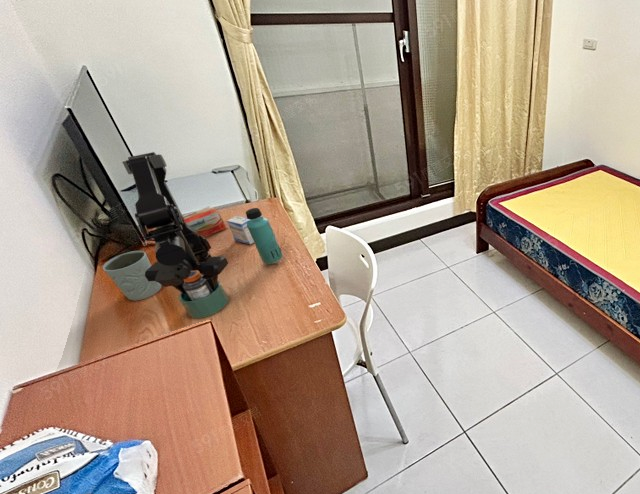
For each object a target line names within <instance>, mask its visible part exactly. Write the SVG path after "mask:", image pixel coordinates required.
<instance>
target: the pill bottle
mask: <svg viewBox="0 0 640 494" xmlns="http://www.w3.org/2000/svg"><path fill="white" fill-rule="evenodd" d="M202 277H203V274H202V273H201V274H200V272H199V271H198V270H195V271H191V273H190V275H189V277H188V279H183V280H184V283H183V288H184V290H185V292H186V293H187V295H188V297H189V298H190V300H191V301H195V300H199V299H202V298H204V297H206V296H208V295H210V294H211V293H213V292H214V291H213V290H212V289H211V287H210V285H209V284H208V282H207V280H206V279H203V278H202Z"/></svg>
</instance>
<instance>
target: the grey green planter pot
mask: <svg viewBox="0 0 640 494" xmlns="http://www.w3.org/2000/svg"><path fill="white" fill-rule="evenodd" d="M151 266H152V263H151V262H150V259H149V257H148V255H147V253H146V252H145V251H144V250H133V251H132V250H131V251H127V252H124V253H121V254H119V255H115V256H114V257H112V258H110V259H108V261H106V262H105V263H104V264H103V265H102V270H103V272H104V273H106V275H107V276H108V277H109V278H110V279H111V280H112V281H113V282H114V284H115V286H117V287H118V289H119V290H120V291H121V292H122V293H123V295H124V296H125V298H127V299H128V300H129V301H132V302H133V301H134V302H137V301H141V300H146V299H148V298H150V297H152V296H154V295H156V294H157V293H158V292H160V290H161V289H162V287H163V286H162V285H161V284H160V283H158V282H156V281H148V280H147V278H146V277H145V272H146V270H148V269H149V268H150V267H151Z"/></svg>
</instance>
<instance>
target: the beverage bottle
mask: <svg viewBox="0 0 640 494" xmlns="http://www.w3.org/2000/svg"><path fill="white" fill-rule="evenodd" d="M245 215H246V218H248V219H251V220H250V221H249V222H248V223H247V228H248V229H249V232H250V234H251V236H252V238H253V241H254V243H253V244H254V246H255V249H256V250H257V253H258V256H259V257H260V259H261V261H262V262H263V264H266V265H270V264H271V265H272V264H275V263H277V262H279V261H281V260H282V259H283V252H282V249H281V246H280V244H279V242H278V240H277V237H276V234H275V232H274V230H273V228H272V226H271V223H270V221H269V219H268V218H267V217H265V216H262V215H263V213H262V211H261V210H260V208H258V207H253V208H249V209H247V210H246V211H245Z"/></svg>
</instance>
